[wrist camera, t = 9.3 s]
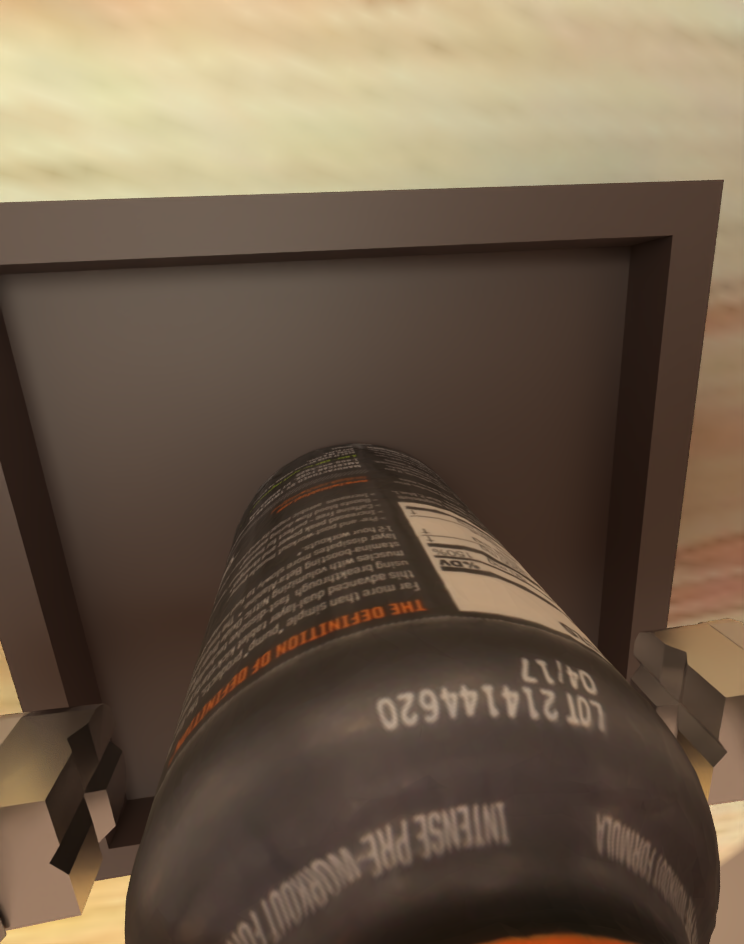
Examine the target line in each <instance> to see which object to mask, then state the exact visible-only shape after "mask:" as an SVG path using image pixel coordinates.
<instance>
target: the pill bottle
mask: <svg viewBox="0 0 744 944" xmlns="http://www.w3.org/2000/svg"><path fill="white" fill-rule="evenodd" d="M719 892H720V861H719V853H718V845H717V836H716V831H715V827H714V823H713V819H712V815H711V812H710V808H709V805H708V802H707V799H706V797H705V794H704V791H703V789H702V786H701V783H700V781H699V778H698V775H697V773H696V771H695V769H694V767H693V766H692V764H691V762H690V760H689V758H688V757H687V755H686V753H685V751H684V750H683V748H682V746H681V744H680V743H679V742H678V740H677V739H676V737H675V736H674V735H673V733H672V732H671V730H670V729H669V728H668V726H667V725H666V723H665V722H664V721H663V720H662V718H661V717H660V716H659V715H658V713H657V712H656V711H655V710H654V708H653V707H652V706H651V705H650V704H649V702H648V701H647V700H646V699H645V698H644V697H643V696H641V695H640V694H639V693H638V692H637V691H636V690H635V689H634V688H633V687H632V686H631V685H630V684H629V683H628V681H627V680H626V679H625V678H624V677H623V676H622V675H621V673H620V672H619V671H618V670H617V669H616V668H615V667H614V666H613V665H612V664H611V663H610V662H609V661H608V660H607V659H606V658H605V657H604V656H603V655H602V653H601V652H600V651H599V650H598V649H597V648H596V647H595V646H594V644H593V643H592V642H591V641H590V640H589V639H588V638H587V637H586V635H585V634H584V633H582V632H581V631H580V629H579V628H578V627H577V626H576V625H575V624H574V622H573V621H572V620H571V619H570V618H569V617H568V616H567V615H566V614H565V613H564V611H563V610H562V609H561V608H560V607H559V606H558V605H557V604H556V603H555V602H554V601H553V600H552V599H551V597H550V596H549V595H548V594H547V593H546V592H545V591H544V590H543V589H542V587H541V586H540V585H539V584H538V583H537V582H536V581H535V580H534V579H533V578H532V577H531V576H530V575H529V574H528V572H527V571H526V570H525V569H524V568H523V567H522V566H521V564H520V563H519V562H518V561H517V560H516V559H515V558H514V557H513V556H512V555H511V554H510V553H509V552H508V551H507V550H506V549H505V547H504V546H503V545H502V544H501V543H500V541H498V540H497V539H496V538H495V537H494V536H493V535H492V534H491V532H490V531H489V530H488V529H487V528H486V527H485V526H484V525H483V523H482V522H481V521H480V520H479V519H478V518H477V517H476V516H475V514H474V513H473V512H472V511H471V510H470V509H469V508H468V507H467V506H466V505H465V504H464V503H463V502H462V501H461V500H460V499H459V497H458V496H457V495H456V493H455V492H454V491H453V490H452V489H451V488H450V487H449V486H448V485H447V484H446V483H445V482H444V481H443V480H442V479H441V478H440V477H439V475H437V474H436V473H435V472H434V471H433V470H432V469H430V468H429V467H428V466H426V465H425V464H424V463H422V462H421V461H419V460H417V459H416V458H414V457H412V456H410V455H408V454H405V453H403V452H401V451H397V450H394V449H391V448H387V447H384V446H379V445H371V444H354V443H348V444H343V445H337V446H332V447H327V448H322V449H318V450H315V451H312V452H309V453H307V454H305V455H303V456H301V457H299V458H297V459H295V460H294V461H292V462H290V463H289V464H287V465H285V466H284V467H282V468H281V469H280V470H278V471H277V472H276V473H275V474H274V475H272V476H271V477H270V478H269V479H268V480H267V481H266V482H265V483H264V484H263V485H262V486H261V487H260V488H259V490H258V491H257V493H256V495H255V496H254V498H253V499H252V501H251V502H250V504H249V506H248V507H247V509H246V510H245V512H244V513H243V515H242V517H241V520H240V522H239V524H238V526H237V528H236V532H235V535H234V538H233V543H232V546H231V550H230V553H229V556H228V559H227V562H226V567H225V570H224V574H223V577H222V580H221V584H220V587H219V590H218V593H217V595H216V598H215V602H214V606H213V609H212V611H211V616H210V619H209V622H208V625H207V628H206V632H205V635H204V638H203V641H202V644H201V647H200V650H199V654H198V657H197V660H196V663H195V666H194V669H193V673H192V677H191V681H190V684H189V687H188V691H187V694H186V697H185V701H184V703H183V707H182V710H181V713H180V716H179V720H178V723H177V726H176V729H175V733H174V736H173V739H172V743H171V746H170V749H169V752H168V756H167V759H166V762H165V765H164V768H163V771H162V774H161V777H160V781H159V784H158V787H157V790H156V793H155V797H154V800H153V803H152V807H151V810H150V814H149V817H148V820H147V824H146V827H145V830H144V833H143V836H142V839H141V843H140V845H139V848H138V851H137V854H136V858H135V862H134V865H133V869H132V873H131V877H130V882H129V887H128V892H127V896H126V911H125V944H709V942H710V938H711V935H712V932H713V930H714V928H715V924H716V913H717V910H718V902H719Z"/></svg>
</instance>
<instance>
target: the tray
mask: <svg viewBox="0 0 744 944" xmlns="http://www.w3.org/2000/svg"><path fill="white" fill-rule="evenodd" d="M723 182H724V180H702V181H670V182H638V183H607V184H575V185H543V186H512V187H480V188H448V189H416V190H385V191H353V192H321V193H289V194H258V195H226V196H194V197H162V198H131V199H99V200H67V201H36V202H4V203H0V641H1V644H2V647H3V650H4V653H5V657H6V660H7V663H8V666H9V669H10V673H11V676H12V679H13V682H14V685H15V689H16V692H17V695H18V698H19V701H20V705H21V708H22V711H23V712H32V711H38V710H47V709H56V708H65V707H74V706H83V705H92V704H101V703H104V704H106V705H108V706H110V707H111V710H112V713H113V716H114V720H115V723H116V728H115V730H114V732H113V734H112V736H111V738H110V741H111V742H112V743H113V744H114V745H116V746H117V747H118V748H120V749H121V750H122V751H123V754H124V759H125V763H126V777H127V783H126V790H125V796H124V802H123V807H122V810H121V812H120V815H119V818H118V821H117V824H116V826H115V827H114V828H113V829H112V830H111V831H110V832H109V833H108V834H107V835H106V836H105V837H104V838H103V839H102V840H101V841H100V842H99V846H100V850H101V854H102V857H103V860H102V863H101V866H100V868H99V871H98V873H97V876H96V879H95V881H98V880H104V879H110V878H116V877H122V876H127V875H131V873H132V869H133V865H134V862H135V858H136V854H137V851H138V848H139V845H140V843H141V839H142V836H143V833H144V830H145V827H146V824H147V820H148V817H149V814H150V810H151V807H152V803H153V800H154V797H155V793H156V790H157V787H158V784H159V781H160V777H161V774H162V771H163V768H164V765H165V762H166V759H167V756H168V752H169V749H170V746H171V743H172V739H173V736H174V733H175V729H176V726H177V723H178V720H179V716H180V713H181V710H182V707H183V703H184V701H185V697H186V694H187V691H188V687H189V684H190V681H191V677H192V673H193V669H194V666H195V663H196V660H197V657H198V654H199V650H200V647H201V644H202V641H203V638H204V635H205V632H206V628H207V625H208V622H209V619H210V616H211V611H212V609H213V606H214V602H215V598H216V595H217V593H218V590H219V587H220V584H221V580H222V577H223V574H224V570H225V567H226V562H227V559H228V556H229V553H230V550H231V546H232V543H233V538H234V535H235V532H236V528H237V526H238V524H239V522H240V520H241V517H242V515H243V513H244V512H245V510H246V509H247V507H248V506H249V504H250V502H251V501H252V499H253V498H254V496H255V495H256V493H257V491H258V490H259V488H260V487H261V486H262V485H263V484H264V483H265V482H266V481H267V480H268V479H269V478H270V477H271V476H272V475H274V474H275V473H276V472H277V471H278V470H280V469H281V468H282V467H284V466H285V465H287V464H289V463H290V462H292V461H294V460H295V459H297V458H299V457H301V456H303V455H305V454H307V453H309V452H312V451H315V450H318V449H322V448H327V447H332V446H337V445H343V444H348V443H354V444H371V445H379V446H384V447H387V448H391V449H394V450H397V451H401V452H403V453H405V454H408V455H410V456H412V457H414V458H416V459H417V460H419V461H421V462H422V463H424V464H425V465H426V466H428V467H429V468H430V469H432V470H433V471H434V472H435V473H436V474H437V475H439V477H440V478H441V479H442V480H443V481H444V482H445V483H446V484H447V485H448V486H449V487H450V488H451V489H452V490H453V491H454V492H455V493H456V495H457V496H458V497H459V499H460V500H461V501H462V502H463V503H464V504H465V505H466V506H467V507H468V508H469V509H470V510H471V511H472V512H473V513H474V514H475V516H476V517H477V518H478V519H479V520H480V521H481V522H482V523H483V525H484V526H485V527H486V528H487V529H488V530H489V531H490V532H491V534H492V535H493V536H494V537H495V538H496V539H497V540H498V541H500V543H501V544H502V545H503V546H504V547H505V549H506V550H507V551H508V552H509V553H510V554H511V555H512V556H513V557H514V558H515V559H516V560H517V561H518V562H519V563H520V564H521V566H522V567H523V568H524V569H525V570H526V571H527V572H528V574H529V575H530V576H531V577H532V578H533V579H534V580H535V581H536V582H537V583H538V584H539V585H540V586H541V587H542V589H543V590H544V591H545V592H546V593H547V594H548V595H549V596H550V597H551V599H552V600H553V601H554V602H555V603H556V604H557V605H558V606H559V607H560V608H561V609H562V610H563V611H564V613H565V614H566V615H567V616H568V617H569V618H570V619H571V620H572V621H573V622H574V624H575V625H576V626H577V627H578V628H579V629H580V631H581V632H582V633H584V634H585V635H586V637H587V638H588V639H589V640H590V641H591V642H592V643H593V644H594V646H595V647H596V648H597V649H598V650H599V651H600V652H601V653H602V655H603V656H604V657H605V658H606V659H607V660H608V661H609V662H610V663H611V664H612V665H613V666H614V667H615V668H616V669H617V670H618V671H619V672H620V673H621V675H622V676H623V677H624V678H625V679H626V680H627V681H628V683H629V684H630V678H631V677H632V675H633V674H634V673H635V671H636V670H637V669H638V668H639V666H640V665H641V664H640V663H639V662H638V660H637V659H636V658H635V656H634V655H633V651H634V643H635V639H636V638H637V636H638V634H639V633H640V632H644V631H651V630H659V629H666V628H667V621H668V613H669V605H670V597H671V589H672V582H673V574H674V566H675V558H676V550H677V542H678V535H679V527H680V519H681V511H682V503H683V495H684V488H685V480H686V472H687V464H688V456H689V448H690V440H691V433H692V425H693V417H694V409H695V401H696V393H697V386H698V378H699V370H700V362H701V354H702V346H703V339H704V331H705V323H706V315H707V307H708V299H709V292H710V284H711V276H712V268H713V260H714V252H715V245H716V237H717V229H718V221H719V213H720V205H721V198H722V190H723Z"/></svg>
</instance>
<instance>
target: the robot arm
mask: <svg viewBox="0 0 744 944" xmlns="http://www.w3.org/2000/svg"><path fill="white" fill-rule="evenodd" d="M633 655H634V656H635V658H636V659H637V660H638V662H639V663H640V664H641V665H640V666H639V668H638V669H637V670H636V671H635V673H634V674H633V675H632V677H631V678H630V685H631V686H632V687H633V688H634V689H635V690H636V691H637V692H638V693H639V694H640V695H641V696H643V697H644V698H645V699H646V700H647V701H648V702H649V704H650V705H651V706H652V707H653V708H654V710H655V711H656V712H657V713H658V715H659V716H660V717H661V718H662V720H663V721H664V722H665V723H666V725H667V726H668V728H669V729H670V730H671V732H672V733H673V735H674V736H675V737H676V739H677V740H678V742H679V743H680V744H681V746H682V748H683V750H684V751H685V753H686V755H687V757H688V758H689V760H690V762H691V764H692V766H693V767H694V769H695V771H696V773H697V775H698V778H699V781H700V783H701V786H702V789H703V791H704V794H705V797H706V799H707V802H708V805H714V804H721V803H728V802H735V801H742V800H744V624H743V623H742V622H740V621H736V620H733V619H729V618H726V619H720V620H713V621H707V622H701V623H698V624H695V625H687V626H680V627H673V628H666V629H659V630H651V631H644V632H640V633H639V634H638V636H637V638H636V639H635V643H634V651H633ZM115 728H116V723H115V720H114V716H113V713H112V710H111V707H110V706H108V705H106V704H104V703H101V704H92V705H83V706H74V707H65V708H56V709H47V710H38V711H32V712H23V713H15V714H7V715H0V942H1V941H2V940H3V938H4V937H5V936H6V930H11V929H16V928H21V927H26V926H31V925H36V924H40V923H45V922H50V921H55V920H60V919H65V918H69V917H74V916H79V915H82V912H83V910H84V907H85V904H86V902H87V899H88V897H89V894H90V891H91V889H92V886H93V884H94V881H95V879H96V876H97V873H98V871H99V868H100V866H101V863H102V860H103V857H102V854H101V850H100V846H99V842H100V841H101V840H102V839H103V838H104V837H105V836H106V835H107V834H108V833H109V832H110V831H111V830H112V829H113V828H114V827H115V826H116V824H117V821H118V818H119V815H120V812H121V810H122V807H123V802H124V796H125V790H126V783H127V777H126V763H125V759H124V754H123V751H122V750H121V749H120V748H118V747H117V746H116V745H114V744H113V743H112V742H111V741H110V738H111V736H112V734H113V732H114V730H115Z"/></svg>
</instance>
